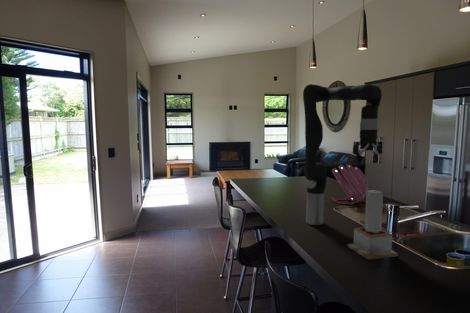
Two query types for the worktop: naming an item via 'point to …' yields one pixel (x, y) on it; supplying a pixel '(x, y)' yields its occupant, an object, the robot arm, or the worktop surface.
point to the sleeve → (372, 241)
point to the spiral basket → (351, 183)
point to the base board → (372, 256)
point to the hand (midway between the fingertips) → (367, 163)
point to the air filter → (373, 212)
